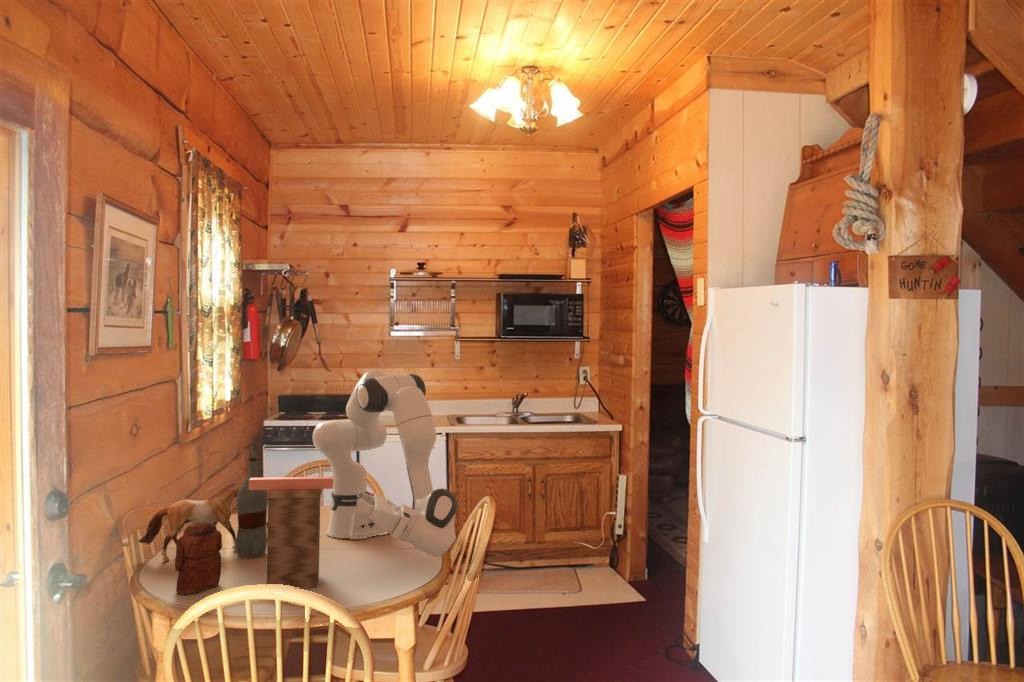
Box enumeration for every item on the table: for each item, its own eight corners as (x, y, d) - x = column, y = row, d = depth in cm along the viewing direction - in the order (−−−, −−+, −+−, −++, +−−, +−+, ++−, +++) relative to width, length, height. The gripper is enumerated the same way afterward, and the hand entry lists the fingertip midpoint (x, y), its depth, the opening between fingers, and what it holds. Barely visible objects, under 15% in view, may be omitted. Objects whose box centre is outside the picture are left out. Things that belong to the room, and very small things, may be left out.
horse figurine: (245, 544, 239) (246, 480, 239) (251, 551, 232) (253, 485, 232) (137, 559, 222) (139, 490, 221) (141, 566, 215) (142, 495, 215)
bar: (333, 486, 207) (333, 476, 207) (332, 488, 205) (332, 478, 205) (250, 488, 203) (250, 477, 203) (248, 490, 201) (248, 479, 200)
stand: (320, 575, 211) (322, 484, 210) (318, 588, 201) (320, 491, 201) (268, 578, 208) (270, 484, 208) (264, 590, 198) (266, 492, 198)
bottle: (240, 550, 233) (241, 454, 232) (270, 550, 234) (272, 454, 233) (231, 559, 223) (233, 459, 223) (263, 559, 224) (265, 459, 224)
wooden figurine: (207, 580, 205) (208, 515, 205) (223, 584, 202) (224, 518, 202) (169, 593, 194) (171, 524, 194) (186, 598, 191) (187, 528, 191)
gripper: (404, 502, 220) (363, 480, 218) (408, 520, 200) (363, 495, 198) (393, 521, 220) (352, 499, 217) (396, 540, 200) (351, 516, 197)
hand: (357, 497), depth 207 cm, fingers open, 8 cm apart
